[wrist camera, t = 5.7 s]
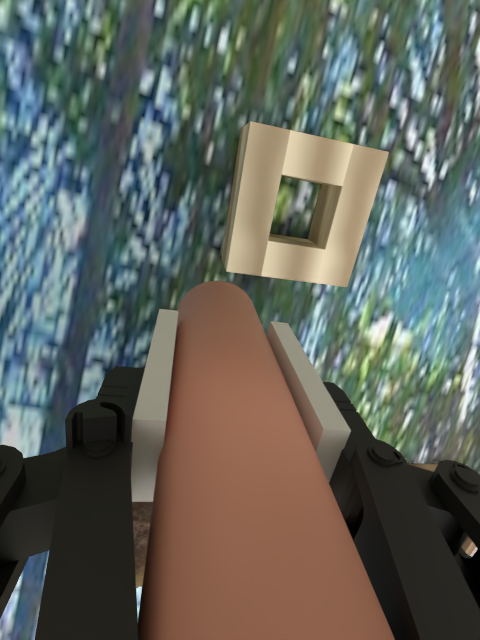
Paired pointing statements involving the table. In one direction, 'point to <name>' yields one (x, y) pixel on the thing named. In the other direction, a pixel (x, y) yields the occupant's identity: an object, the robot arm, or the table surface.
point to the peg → (244, 499)
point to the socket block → (330, 212)
